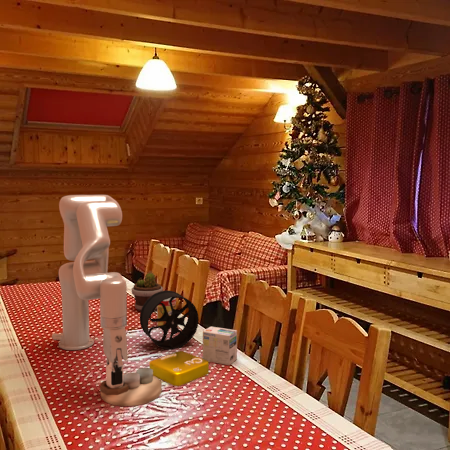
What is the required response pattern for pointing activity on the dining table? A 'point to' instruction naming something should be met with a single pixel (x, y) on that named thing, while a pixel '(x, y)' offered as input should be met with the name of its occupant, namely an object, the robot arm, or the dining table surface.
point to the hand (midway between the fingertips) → (114, 380)
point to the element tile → (179, 368)
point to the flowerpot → (145, 290)
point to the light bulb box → (220, 345)
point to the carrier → (133, 389)
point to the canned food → (161, 311)
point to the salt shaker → (108, 376)
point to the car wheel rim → (170, 320)
